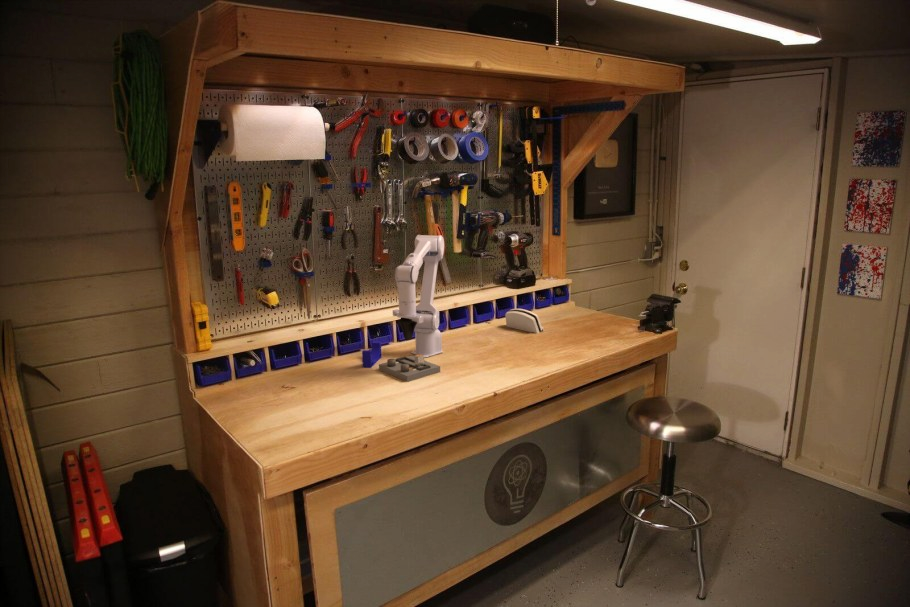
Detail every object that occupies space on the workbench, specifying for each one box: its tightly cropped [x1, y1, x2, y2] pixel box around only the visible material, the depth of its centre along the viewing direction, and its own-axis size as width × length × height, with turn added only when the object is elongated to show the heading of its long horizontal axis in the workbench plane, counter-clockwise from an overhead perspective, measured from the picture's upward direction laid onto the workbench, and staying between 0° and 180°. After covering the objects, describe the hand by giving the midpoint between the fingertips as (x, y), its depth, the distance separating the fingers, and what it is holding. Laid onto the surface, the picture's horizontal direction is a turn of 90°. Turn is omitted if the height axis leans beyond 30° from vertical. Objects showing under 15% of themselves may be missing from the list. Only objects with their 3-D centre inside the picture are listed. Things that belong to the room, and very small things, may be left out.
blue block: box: [361, 341, 383, 369], centre depth 218 cm, size 12×4×6 cm, turn 169°
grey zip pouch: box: [504, 308, 545, 334], centre depth 257 cm, size 17×5×10 cm, turn 46°
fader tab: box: [413, 354, 425, 368], centre depth 206 cm, size 3×2×4 cm
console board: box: [378, 355, 441, 383], centre depth 208 cm, size 14×16×4 cm
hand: (408, 339), depth 209 cm, fingers closed
